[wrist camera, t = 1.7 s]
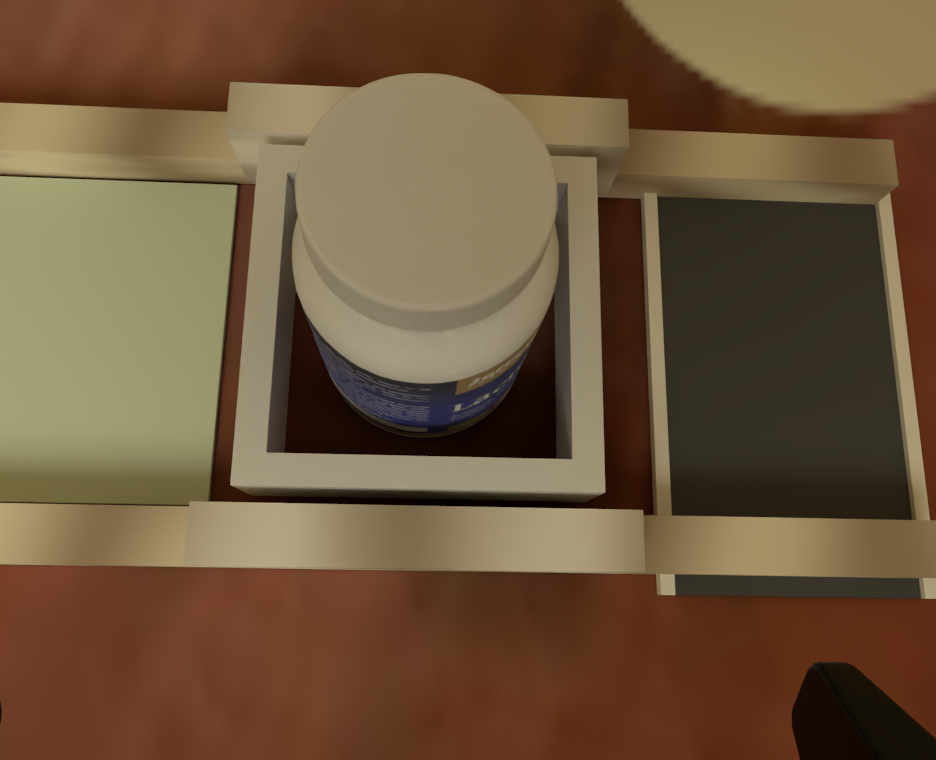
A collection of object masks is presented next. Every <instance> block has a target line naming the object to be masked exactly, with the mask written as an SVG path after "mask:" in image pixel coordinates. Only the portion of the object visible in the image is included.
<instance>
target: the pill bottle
mask: <svg viewBox="0 0 936 760" xmlns="http://www.w3.org/2000/svg"><path fill="white" fill-rule="evenodd" d="M295 200H296V210H297V214H298V217H297V220H296V224H295V229H294V234H293V242H292V267H293V275H294V281H295V287H296V291H297V294H298V296H299V299H300V302H301V305H302V308H303V310H304V313H305V315H306V318H307V320H308V323H309V325H310V327H311V330H312V332H313V335H314V338H315V340H316V343H317V345H318V348H319V351H320V353H321V356H322V358H323V360H324V363H325V365H326V368H327V370H328V373H329V375H330V377H331V379H332V381H333V383H334V385H335V387H336V389H337V390H338V392H339V393H340V394H341V396H342V397H343V399H344V400H345V401H346V402H347V403H348V405H349V406H350V407H351V408H352V409H353V410H354V411H355V412H357V413H358V414H359V415H360V416H361V417H363V418H364V419H365V420H367V421H368V422H370V423H372V424H373V425H375V426H377V427H379V428H381V429H383V430H386V431H388V432H391V433H394V434H398V435H402V436H407V437H416V438H431V437H439V436H445V435H449V434H453V433H456V432H459V431H462V430H464V429H466V428H468V427H471V426H473V425H474V424H476V423H477V422H479V421H481V420H482V419H484V418H485V417H486V416H487V415H488V414H490V413H491V412H492V411H493V410H494V409H495V408H496V407H497V406H498V405H499V404H500V403H501V402H502V400H503V399H504V398H505V396H506V395H507V394H508V392H509V390H510V388H511V387H512V385H513V383H514V381H515V379H516V377H517V375H518V373H519V370H520V368H521V366H522V364H523V362H524V360H525V358H526V355H527V353H528V351H529V349H530V347H531V344H532V342H533V340H534V338H535V336H536V334H537V332H538V330H539V328H540V326H541V324H542V322H543V319H544V317H545V315H546V313H547V311H548V308H549V305H550V303H551V300H552V296H553V293H554V289H555V285H556V280H557V275H558V269H559V243H558V237H557V231H556V226H555V223H554V222H555V218H556V213H557V204H558V188H557V179H556V174H555V170H554V166H553V162H552V159H551V156H550V153H549V152H548V149H547V147H546V145H545V143H544V141H543V139H542V137H541V136H540V134H539V133H538V131H537V130H536V128H535V127H534V126H533V124H532V123H531V122H530V120H529V119H528V118H527V117H526V116H525V115H524V114H523V113H522V112H521V111H520V110H519V109H518V108H517V107H516V106H514V105H513V104H512V103H511V102H509V101H508V100H507V99H505V98H504V97H503V96H501V95H500V94H498V93H496V92H495V91H493V90H491V89H489V88H487V87H485V86H483V85H480V84H478V83H475V82H473V81H470V80H467V79H463V78H460V77H456V76H451V75H446V74H436V73H411V74H401V75H395V76H390V77H385V78H382V79H379V80H376V81H373V82H371V83H368V84H366V85H364V86H362V87H360V88H358V89H356V90H354V91H352V92H350V93H349V94H347V95H346V96H345V97H343V98H342V99H341V100H339V101H338V102H337V103H335V104H334V105H333V106H332V107H331V108H330V109H329V110H328V111H327V112H326V113H325V114H324V115H323V116H322V117H321V119H320V120H319V121H318V123H317V124H316V125H315V127H314V128H313V130H312V131H311V133H310V135H309V137H308V139H307V141H306V142H305V145H304V147H303V150H302V153H301V156H300V159H299V162H298V167H297V173H296V180H295Z"/></svg>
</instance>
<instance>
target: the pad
mask: <svg viewBox="0 0 936 760" xmlns="http://www.w3.org/2000/svg"><path fill="white" fill-rule="evenodd" d="M237 197H238V186H237V185H222V184H196V183H169V182H142V181H116V180H89V179H62V178H36V177H9V176H0V502H25V503H79V504H132V505H185V506H189V501H203V502H210V495H211V484H212V473H213V462H214V451H215V440H216V429H217V418H218V407H219V396H220V385H221V374H222V363H223V352H224V341H225V330H226V319H227V308H228V297H229V286H230V275H231V264H232V253H233V242H234V231H235V219H236V208H237Z"/></svg>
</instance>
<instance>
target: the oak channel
mask: <svg viewBox="0 0 936 760" xmlns="http://www.w3.org/2000/svg"><path fill="white" fill-rule="evenodd" d="M356 89H358V87H335V86H312V85H289V84H266V83H243V82H230V88H229V98H228V108H227V112H214V111H190V110H166V109H142V108H118V107H94V106H70V105H46V104H22V103H0V175H21V176H48V177H75V178H101V179H128V180H155V181H181V182H208V183H234V184H256V175H257V163H258V151H259V144H274V145H299V146H304V145H305V142H306V141H307V139H308V137H309V135H310V133H311V131H312V130H313V128H314V127H315V125H316V124H317V123H318V121H319V120H320V119H321V117H322V116H323V115H324V114H325V113H326V112H327V111H328V110H329V109H330V108H331V107H332V106H333V105H334V104H335V103H337V102H338V101H339V100H341V99H342V98H343V97H345V96H346V95H347V94H349V93H350V92H352V91H354V90H356ZM500 95H501V96H503V97H504V98H505V99H507V100H508V101H509V102H511V103H512V104H513V105H514V106H516V107H517V108H518V109H519V110H520V111H521V112H522V113H523V114H524V115H525V116H526V117H527V118H528V119H529V120H530V122H531V123H532V124H533V126H534V127H535V128H536V130H537V131H538V133H539V134H540V136H541V137H542V139H543V141H544V143H545V145H546V147H547V149H548V152H549V153H550V156H574V157H596V159H597V197H607V198H633V199H641V197H642V196H643V194H644V193H657V196H660V197H687V198H713V199H740V200H766V201H793V202H819V203H846V204H872V205H875V204H877V203H878V202H879V201H880V200H881V199H883V198H884V197H885V196H886V195H887V194H889V193H890V192H891V191H892V190H893V189H894V188H896V187H897V186H898V185H899V183H898V175H897V167H896V159H895V152H894V144H893V140H885V139H861V138H837V137H813V136H789V135H765V134H741V133H717V132H693V131H669V130H645V129H629V121H628V99H611V98H588V97H565V96H542V95H519V94H500ZM0 564H16V565H82V566H147V567H213V568H279V569H344V570H410V571H475V572H541V573H607V574H678V575H744V576H809V577H875V578H936V521H935V520H882V519H829V518H776V517H722V516H669V515H643V510H623V509H570V508H518V507H465V506H413V505H361V504H308V503H256V502H203V501H189V506H136V505H83V504H29V503H0Z"/></svg>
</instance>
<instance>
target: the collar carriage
mask: <svg viewBox="0 0 936 760" xmlns="http://www.w3.org/2000/svg"><path fill="white" fill-rule="evenodd" d="M303 147H304V146H299V145H274V144H259V151H258V163H257V175H256V186H255V198H254V210H253V222H252V233H251V245H250V257H249V269H248V280H247V292H246V304H245V316H244V327H243V339H242V351H241V363H240V374H239V386H238V398H237V410H236V421H235V433H234V445H233V457H232V468H231V480H230V485H231V486H233V487H235V488H237V489H239V490H241V491H244V492H246V493H248V494H250V495H252V496H302V497H353V498H405V499H456V500H508V501H559V502H587V501H589V500H591V499H593V498H595V497H597V496H599V495H601V494H603V493H605V459H604V421H603V384H602V346H601V309H600V272H599V234H598V197H597V159H596V157H574V156H551V159H552V162H553V166H554V170H555V174H556V179H557V188H558V204H557V213H556V218H555V222H554V223H555V226H556V231H557V237H558V243H559V269H558V275H557V280H556V285H555V289H554V310H555V391H556V459H537V458H492V457H446V456H401V455H355V454H310V453H285V438H286V424H287V410H288V395H289V381H290V367H291V352H292V338H293V323H294V309H295V295H296V287H295V281H294V275H293V267H292V242H293V234H294V229H295V224H296V220H297V217H298V214H297V210H296V200H295V180H296V173H297V167H298V162H299V159H300V156H301V153H302V150H303Z"/></svg>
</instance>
